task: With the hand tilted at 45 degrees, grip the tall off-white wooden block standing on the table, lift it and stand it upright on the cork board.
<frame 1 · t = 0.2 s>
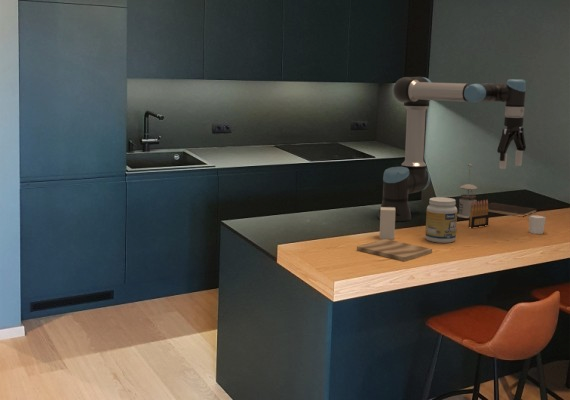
hand: (510, 167, 302), 28 cm above the countertop, tool pointing down, fingers open, 13 cm apart
cork board: (394, 251, 272), on the countertop
ammunition clip: (478, 227, 316), on the countertop
off-white block: (386, 237, 295), on the countertop
supplement tub: (440, 240, 291), on the countertop
hardcover book: (507, 212, 351), on the countertop
white cup: (536, 233, 306), on the countertop
french press: (467, 215, 340), on the countertop
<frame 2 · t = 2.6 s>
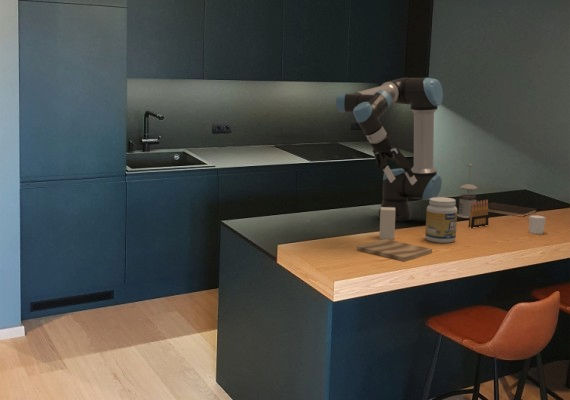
hand: (403, 181, 286), 24 cm above the countertop, tool tilted 35°, fingers open, 13 cm apart
nothing on the countertop moved.
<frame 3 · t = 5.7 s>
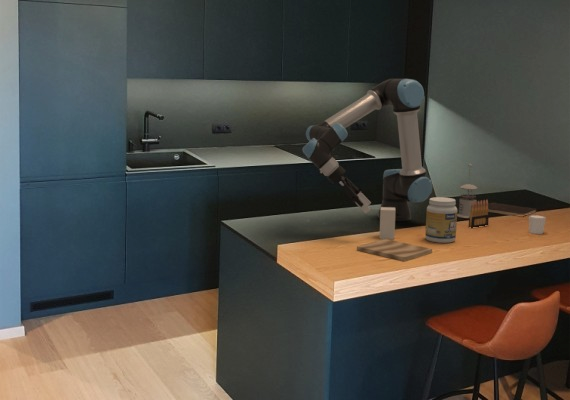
hand: (368, 208, 293), 12 cm above the countertop, tool tilted 45°, fingers open, 13 cm apart
nothing on the countertop moved.
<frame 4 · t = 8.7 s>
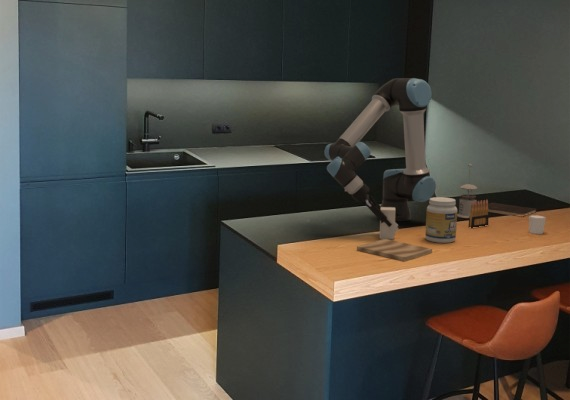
hand: (396, 229, 294), 3 cm above the countertop, tool tilted 45°, fingers closed on off-white block, 6 cm apart
off-white block: (386, 237, 295), on the countertop, touching gripper
everything else where it was.
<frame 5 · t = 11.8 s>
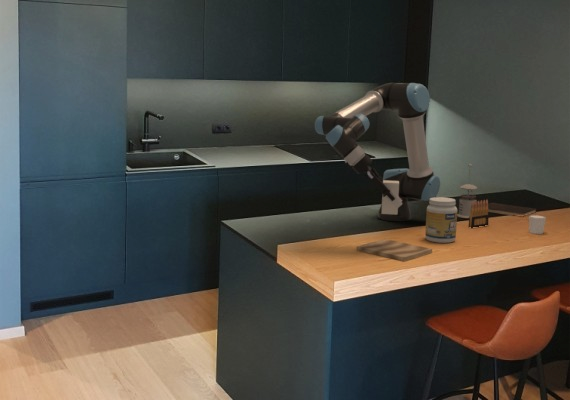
hand: (399, 204, 272), 18 cm above the countertop, tool tilted 45°, fingers closed on off-white block, 6 cm apart
off-white block: (389, 212, 273), point 14 cm above the countertop, touching gripper
everything else where it was.
when the fingers open (6 cm above the countertop, at t = 14.9 s): off-white block drops 1 cm, resting on cork board.
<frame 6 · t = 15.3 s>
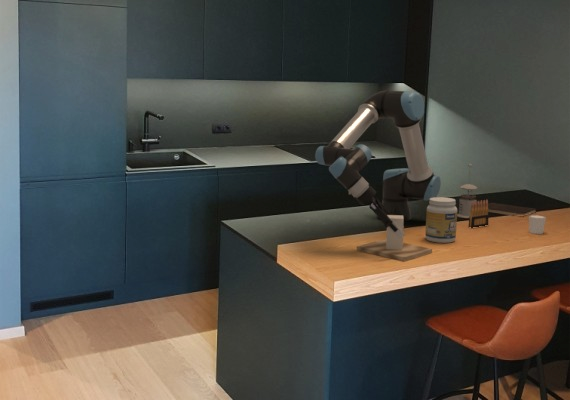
hand: (402, 233, 270), 7 cm above the countertop, tool tilted 45°, fingers open, 11 cm apart
off-white block: (394, 247, 271), point 1 cm above the countertop, touching cork board
everything else where it was.
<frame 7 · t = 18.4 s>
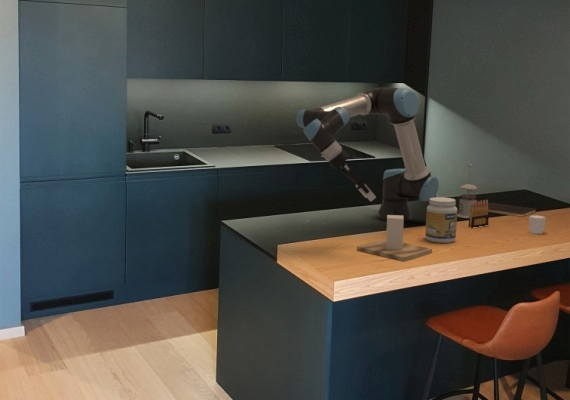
hand: (370, 197, 272), 20 cm above the countertop, tool tilted 40°, fingers open, 13 cm apart
nothing on the countertop moved.
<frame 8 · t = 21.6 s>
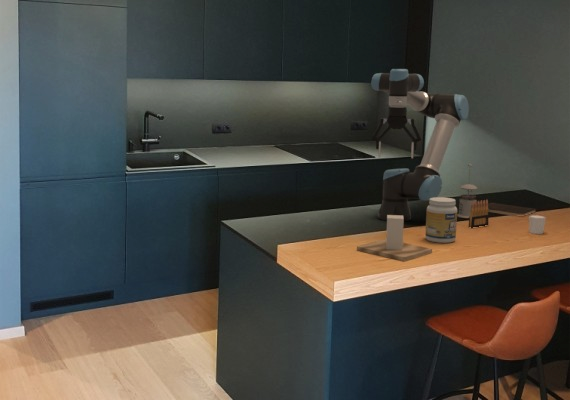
hand: (395, 157, 300), 32 cm above the countertop, tool pointing down, fingers open, 13 cm apart
nothing on the countertop moved.
at the end: off-white block inside the target area on the cork board (0.1 cm from its centre), point 1.5 cm above the cork board's base; off-white block tilted 0°; the gripper is holding nothing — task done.
